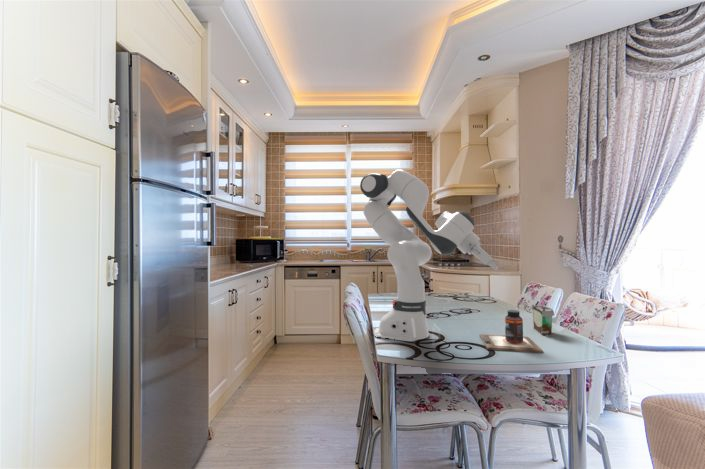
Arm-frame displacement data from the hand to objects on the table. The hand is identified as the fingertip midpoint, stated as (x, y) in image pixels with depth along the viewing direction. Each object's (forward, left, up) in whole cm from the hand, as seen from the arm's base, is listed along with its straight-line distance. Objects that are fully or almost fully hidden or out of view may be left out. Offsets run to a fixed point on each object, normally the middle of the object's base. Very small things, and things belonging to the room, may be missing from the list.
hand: (495, 267), depth 129 cm
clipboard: (+3, -8, -28) cm, 29 cm away
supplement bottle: (+5, -8, -27) cm, 28 cm away
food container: (+22, +11, -28) cm, 37 cm away
